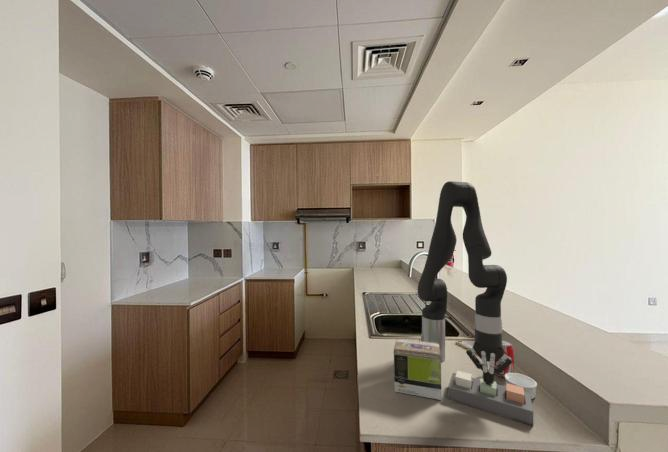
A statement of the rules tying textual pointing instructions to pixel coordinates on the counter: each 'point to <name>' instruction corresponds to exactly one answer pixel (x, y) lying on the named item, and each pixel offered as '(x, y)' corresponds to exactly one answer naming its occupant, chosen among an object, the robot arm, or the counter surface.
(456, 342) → the candy bar
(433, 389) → the tea box
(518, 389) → the terracotta key
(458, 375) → the ivory key
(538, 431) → the counter surface
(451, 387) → the keypad housing
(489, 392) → the sage key
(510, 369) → the soda can
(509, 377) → the ramekin
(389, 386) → the counter surface
